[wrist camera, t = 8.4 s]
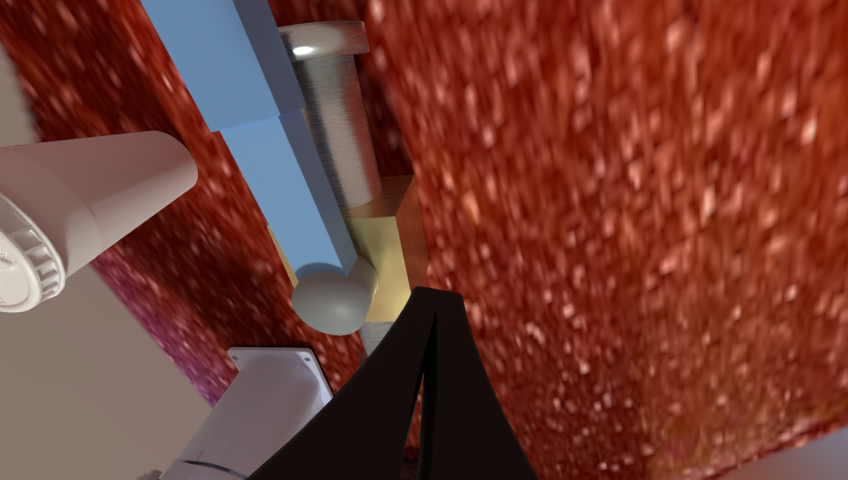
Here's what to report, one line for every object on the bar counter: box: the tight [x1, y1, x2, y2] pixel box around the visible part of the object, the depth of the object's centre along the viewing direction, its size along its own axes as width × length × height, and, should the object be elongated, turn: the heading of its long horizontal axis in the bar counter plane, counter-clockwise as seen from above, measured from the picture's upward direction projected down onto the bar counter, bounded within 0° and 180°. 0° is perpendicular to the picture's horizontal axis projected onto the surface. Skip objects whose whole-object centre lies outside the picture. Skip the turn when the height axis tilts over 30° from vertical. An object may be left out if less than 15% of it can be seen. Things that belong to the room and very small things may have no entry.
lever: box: [140, 0, 378, 335], centre depth 12 cm, size 13×3×2 cm, turn 13°
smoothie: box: [0, 131, 198, 312], centre depth 13 cm, size 6×6×14 cm
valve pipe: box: [266, 20, 429, 380], centre depth 17 cm, size 20×6×5 cm, turn 8°
